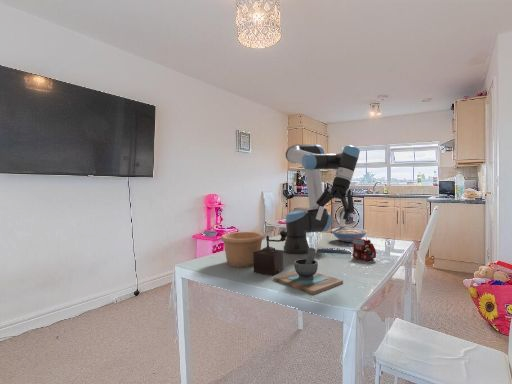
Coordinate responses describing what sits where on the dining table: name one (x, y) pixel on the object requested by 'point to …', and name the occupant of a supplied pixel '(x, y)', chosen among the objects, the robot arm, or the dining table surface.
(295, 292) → the dining table surface
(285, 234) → the manual coffee grinder
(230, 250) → the pottery
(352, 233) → the ramen bowl
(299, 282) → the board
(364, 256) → the toy fire truck
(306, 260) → the mortar and pestle
